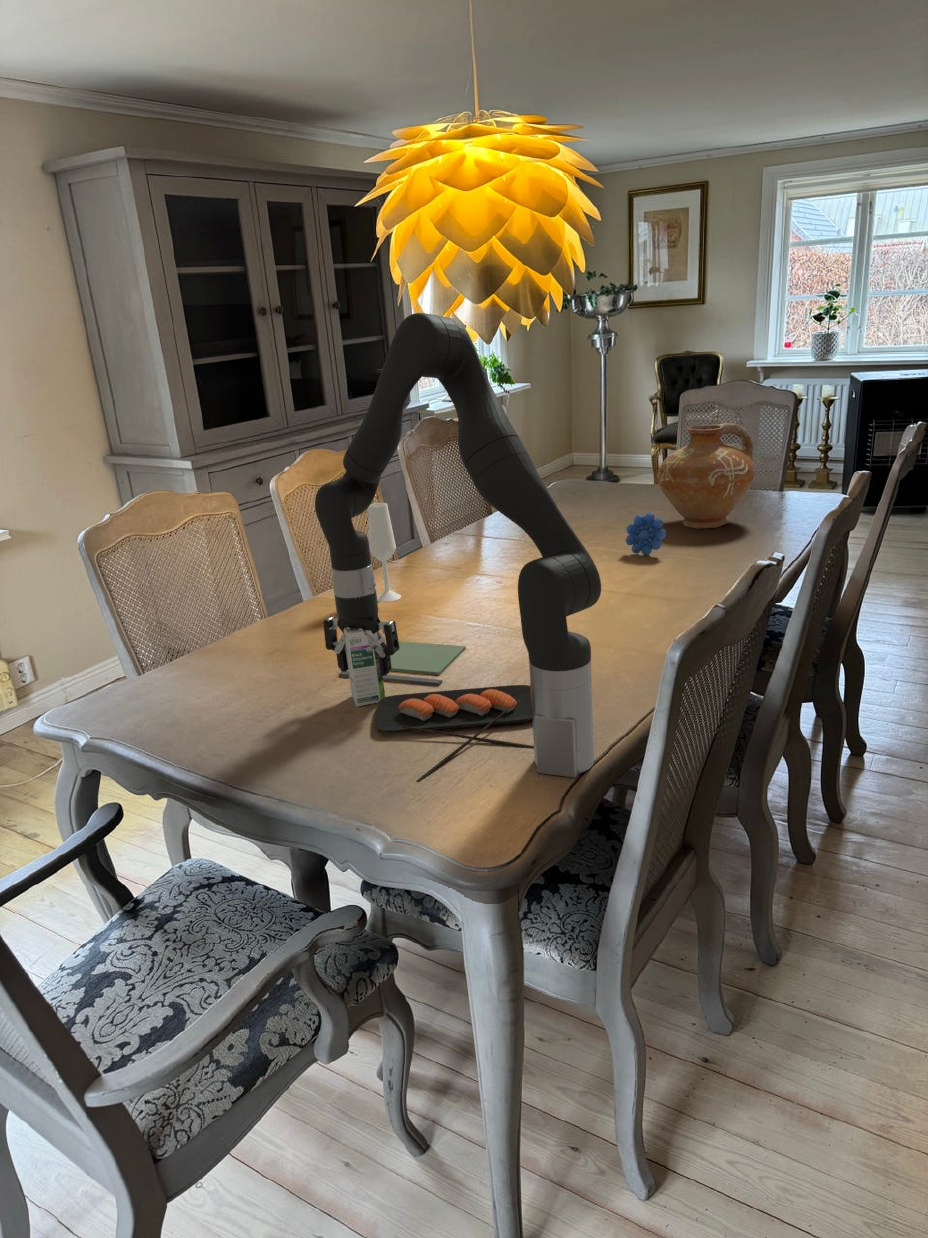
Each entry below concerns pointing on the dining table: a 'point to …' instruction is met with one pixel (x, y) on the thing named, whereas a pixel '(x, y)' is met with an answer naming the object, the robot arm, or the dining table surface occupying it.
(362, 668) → the syrup box
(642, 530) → the blue bumpy cluster
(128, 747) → the dining table surface
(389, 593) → the champagne flute
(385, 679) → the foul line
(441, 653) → the mat
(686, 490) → the jug
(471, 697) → the sushi plate
